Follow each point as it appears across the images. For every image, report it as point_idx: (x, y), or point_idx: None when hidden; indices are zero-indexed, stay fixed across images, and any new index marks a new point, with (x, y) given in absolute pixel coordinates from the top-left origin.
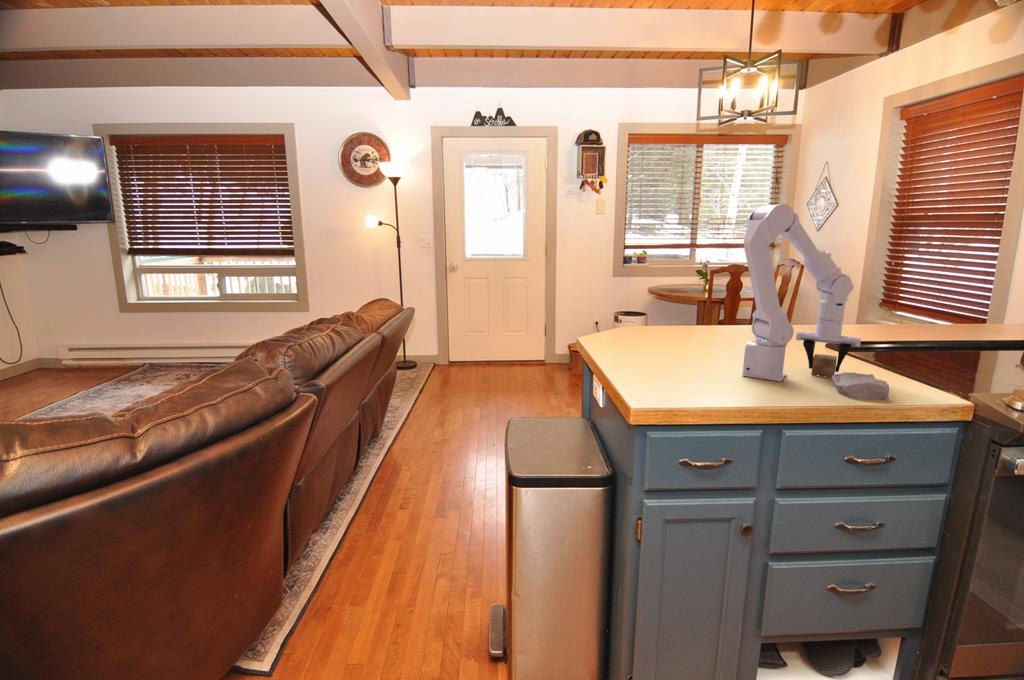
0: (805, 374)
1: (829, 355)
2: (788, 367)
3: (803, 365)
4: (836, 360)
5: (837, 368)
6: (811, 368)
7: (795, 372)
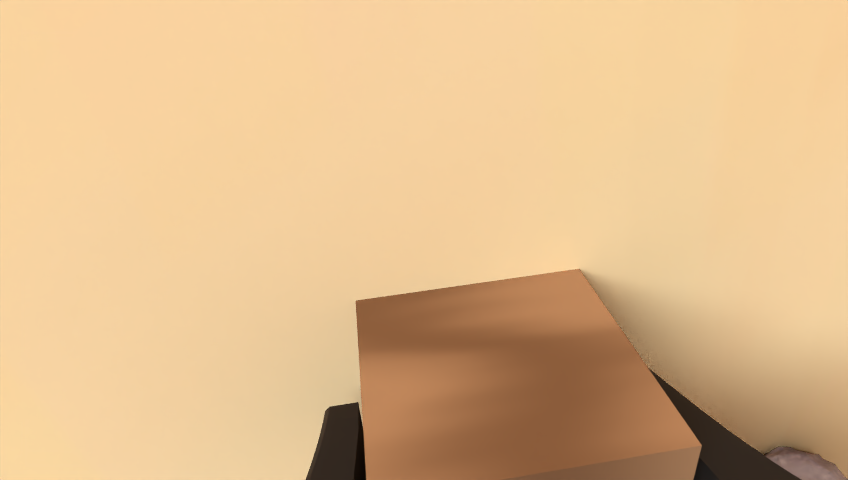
0: None
1: (589, 477)
2: (53, 332)
3: (137, 83)
4: (662, 395)
5: None
6: None
7: (224, 462)
